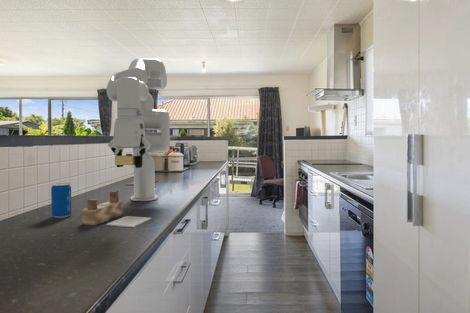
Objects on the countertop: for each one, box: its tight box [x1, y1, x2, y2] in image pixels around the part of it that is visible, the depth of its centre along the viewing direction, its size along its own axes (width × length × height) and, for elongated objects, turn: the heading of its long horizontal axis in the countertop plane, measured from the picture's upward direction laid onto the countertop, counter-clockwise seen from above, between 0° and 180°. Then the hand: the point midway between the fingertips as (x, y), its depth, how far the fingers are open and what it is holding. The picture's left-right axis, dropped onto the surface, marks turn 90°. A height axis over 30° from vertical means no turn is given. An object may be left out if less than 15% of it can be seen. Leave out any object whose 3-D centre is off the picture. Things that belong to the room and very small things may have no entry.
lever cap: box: [114, 153, 143, 166], centre depth 115 cm, size 7×6×4 cm
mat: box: [106, 215, 152, 228], centre depth 116 cm, size 12×10×1 cm
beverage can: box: [50, 182, 73, 219], centre depth 122 cm, size 6×6×12 cm
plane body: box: [81, 190, 124, 226], centre depth 119 cm, size 16×5×9 cm, turn 166°
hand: (129, 166), depth 115 cm, fingers closed on lever cap, 6 cm apart
